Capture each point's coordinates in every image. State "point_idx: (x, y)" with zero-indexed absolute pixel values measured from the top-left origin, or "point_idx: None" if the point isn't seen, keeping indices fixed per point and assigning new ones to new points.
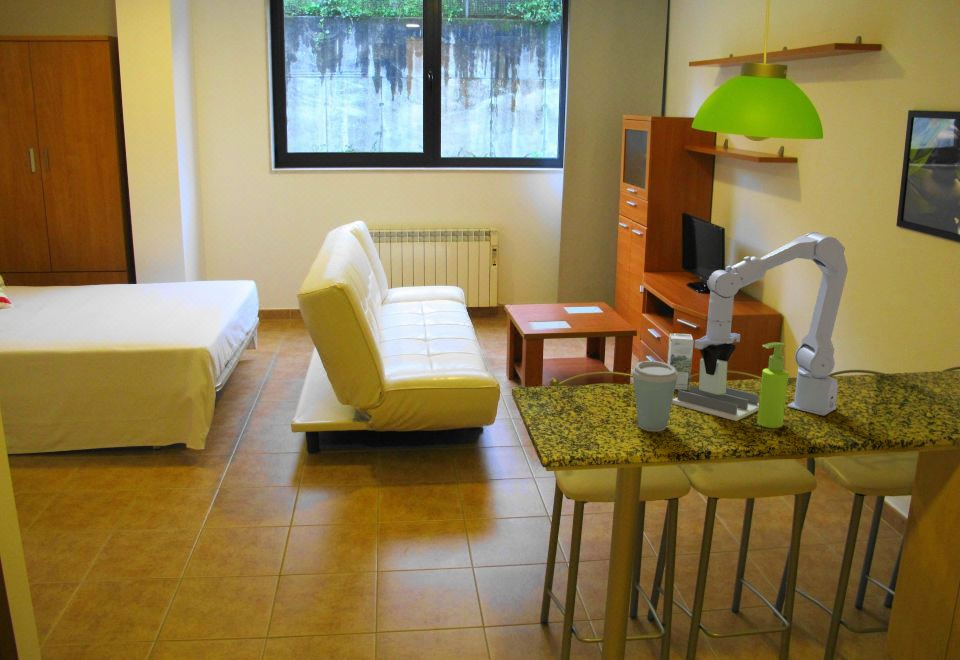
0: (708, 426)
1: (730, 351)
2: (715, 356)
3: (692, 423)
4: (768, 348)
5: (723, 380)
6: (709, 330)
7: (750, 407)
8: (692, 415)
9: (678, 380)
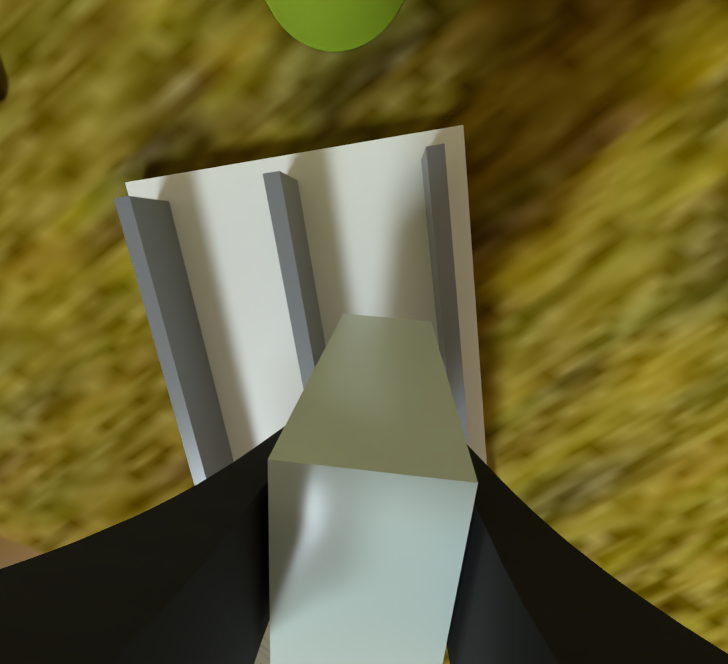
0: (676, 175)
1: (85, 610)
2: (664, 643)
3: (695, 265)
4: None
5: (368, 350)
6: None
7: (239, 192)
8: (567, 346)
9: None
